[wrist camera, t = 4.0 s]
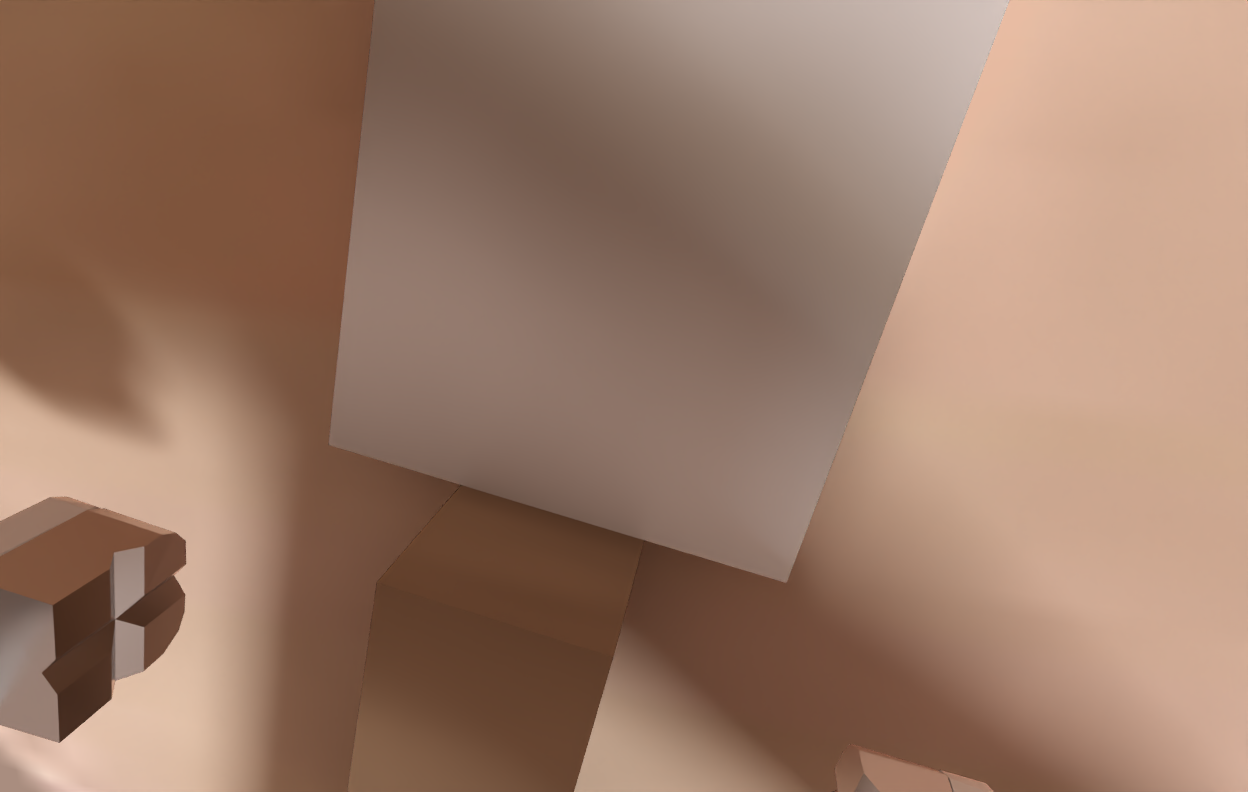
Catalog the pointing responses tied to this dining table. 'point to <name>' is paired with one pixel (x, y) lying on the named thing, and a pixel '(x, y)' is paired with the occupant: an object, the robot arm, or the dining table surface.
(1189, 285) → the dining table surface
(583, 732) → the spatula
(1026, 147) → the dining table surface
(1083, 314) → the dining table surface
